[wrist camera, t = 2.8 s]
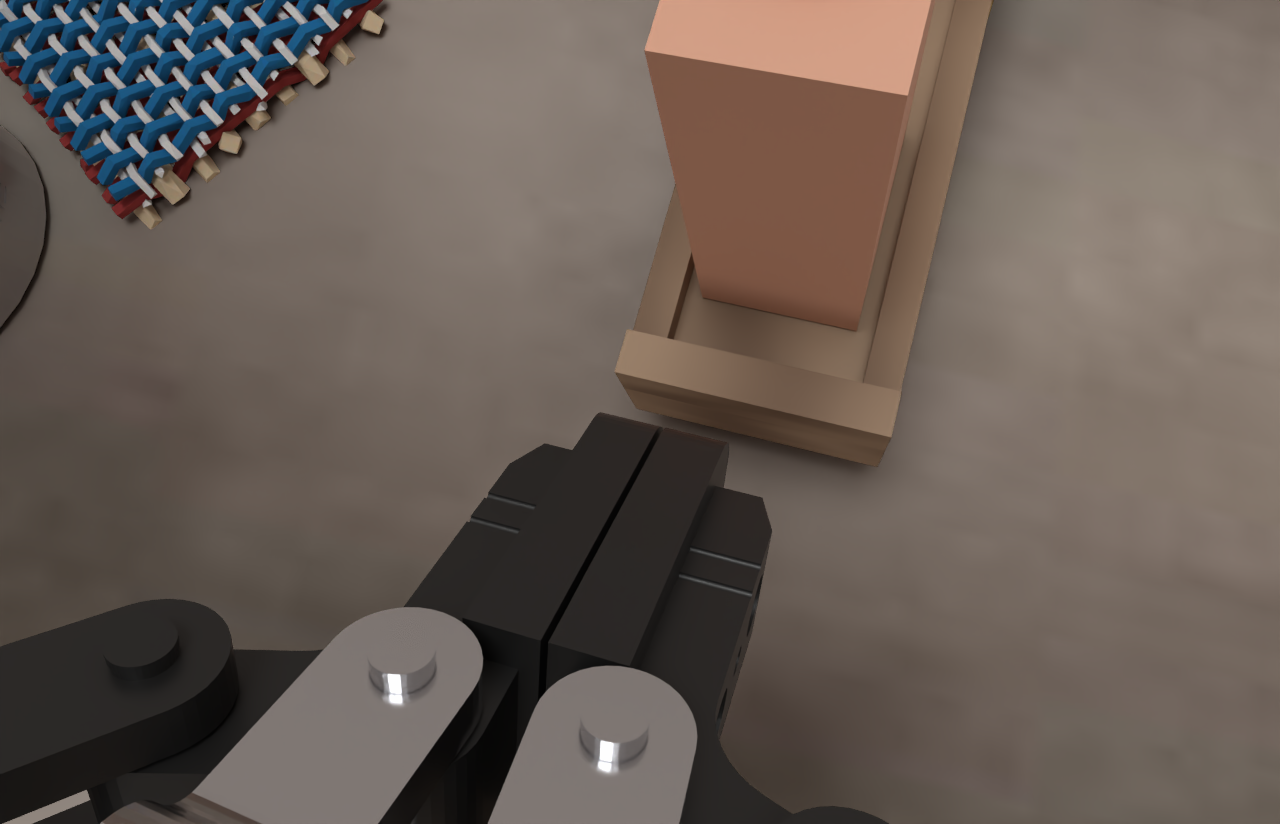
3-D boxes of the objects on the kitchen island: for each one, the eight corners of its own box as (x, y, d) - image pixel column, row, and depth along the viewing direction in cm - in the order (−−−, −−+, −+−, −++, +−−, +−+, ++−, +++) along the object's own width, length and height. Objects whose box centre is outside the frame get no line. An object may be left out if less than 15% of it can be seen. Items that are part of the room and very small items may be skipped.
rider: (702, 297, 24) (633, 5, 13) (755, 105, 25) (731, -312, 14) (856, 331, 23) (917, 51, 12) (905, 132, 24) (1000, -286, 13)
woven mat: (-14, 40, 34) (-63, 3, 32) (230, -161, 35) (196, -209, 33) (148, 250, 31) (106, 223, 29) (411, 28, 32) (386, -13, 30)
